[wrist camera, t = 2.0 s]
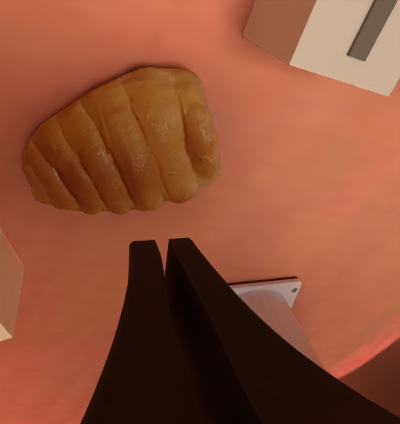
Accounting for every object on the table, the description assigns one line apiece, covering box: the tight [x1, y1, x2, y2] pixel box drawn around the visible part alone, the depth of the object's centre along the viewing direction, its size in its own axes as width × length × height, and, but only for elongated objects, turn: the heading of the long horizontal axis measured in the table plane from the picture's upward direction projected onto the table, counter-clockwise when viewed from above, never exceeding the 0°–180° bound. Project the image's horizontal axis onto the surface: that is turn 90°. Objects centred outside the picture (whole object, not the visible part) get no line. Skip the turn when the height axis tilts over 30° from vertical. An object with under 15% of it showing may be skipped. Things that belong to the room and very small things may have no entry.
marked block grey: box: [242, 0, 400, 96], centre depth 14 cm, size 5×5×5 cm
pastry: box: [22, 67, 221, 215], centre depth 17 cm, size 9×7×4 cm
